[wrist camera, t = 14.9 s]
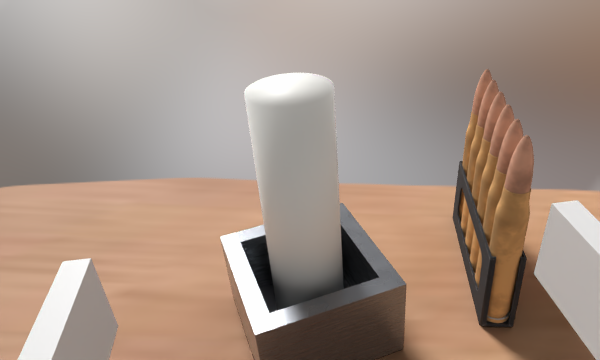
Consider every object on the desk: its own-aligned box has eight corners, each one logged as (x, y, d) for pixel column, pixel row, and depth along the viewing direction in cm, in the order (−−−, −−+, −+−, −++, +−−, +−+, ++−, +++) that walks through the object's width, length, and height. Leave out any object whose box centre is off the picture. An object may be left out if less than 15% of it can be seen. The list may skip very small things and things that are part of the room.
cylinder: (290, 346, 27) (257, 114, 20) (269, 297, 30) (234, 83, 23) (355, 323, 28) (348, 94, 20) (329, 278, 31) (314, 67, 24)
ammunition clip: (513, 328, 28) (554, 145, 22) (479, 327, 28) (511, 145, 22) (477, 216, 37) (499, 63, 31) (452, 216, 37) (468, 64, 31)
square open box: (267, 399, 25) (254, 334, 23) (233, 296, 32) (220, 236, 29) (403, 349, 27) (406, 284, 25) (344, 261, 34) (342, 202, 31)
